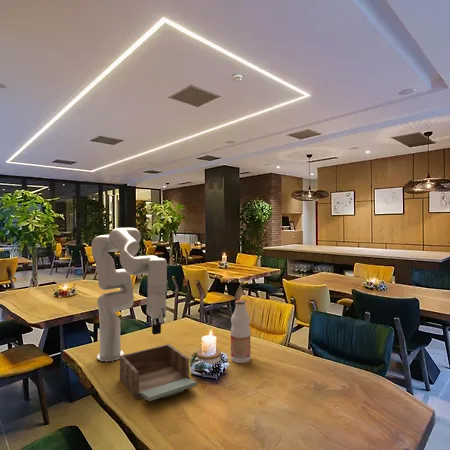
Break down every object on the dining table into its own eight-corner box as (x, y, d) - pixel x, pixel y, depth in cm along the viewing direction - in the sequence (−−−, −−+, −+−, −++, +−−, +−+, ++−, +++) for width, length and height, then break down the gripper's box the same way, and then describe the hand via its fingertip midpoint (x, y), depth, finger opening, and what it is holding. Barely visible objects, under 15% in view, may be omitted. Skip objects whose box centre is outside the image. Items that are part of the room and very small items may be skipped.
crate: (120, 379, 135) (119, 355, 135) (168, 365, 148) (168, 343, 148) (137, 401, 119) (136, 374, 118) (190, 383, 131) (190, 359, 131)
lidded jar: (199, 376, 137) (199, 354, 137) (194, 365, 148) (194, 345, 148) (223, 373, 140) (223, 351, 140) (217, 363, 151) (217, 343, 151)
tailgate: (140, 392, 120) (149, 397, 113) (186, 377, 131) (196, 381, 124) (141, 398, 120) (149, 403, 113) (187, 383, 131) (197, 387, 124)
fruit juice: (240, 365, 148) (239, 304, 148) (226, 358, 155) (226, 300, 155) (254, 359, 154) (254, 301, 154) (241, 353, 161) (240, 297, 161)
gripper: (141, 286, 134) (141, 329, 135) (155, 293, 122) (154, 341, 123) (158, 284, 139) (157, 326, 139) (173, 291, 126) (172, 337, 127)
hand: (156, 333), depth 131 cm, fingers closed
